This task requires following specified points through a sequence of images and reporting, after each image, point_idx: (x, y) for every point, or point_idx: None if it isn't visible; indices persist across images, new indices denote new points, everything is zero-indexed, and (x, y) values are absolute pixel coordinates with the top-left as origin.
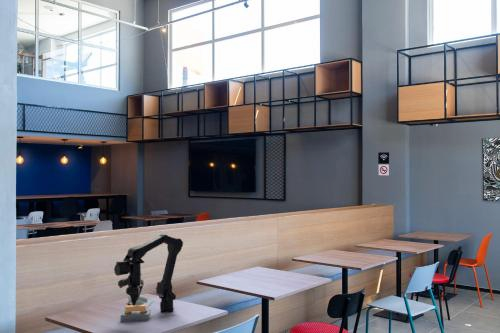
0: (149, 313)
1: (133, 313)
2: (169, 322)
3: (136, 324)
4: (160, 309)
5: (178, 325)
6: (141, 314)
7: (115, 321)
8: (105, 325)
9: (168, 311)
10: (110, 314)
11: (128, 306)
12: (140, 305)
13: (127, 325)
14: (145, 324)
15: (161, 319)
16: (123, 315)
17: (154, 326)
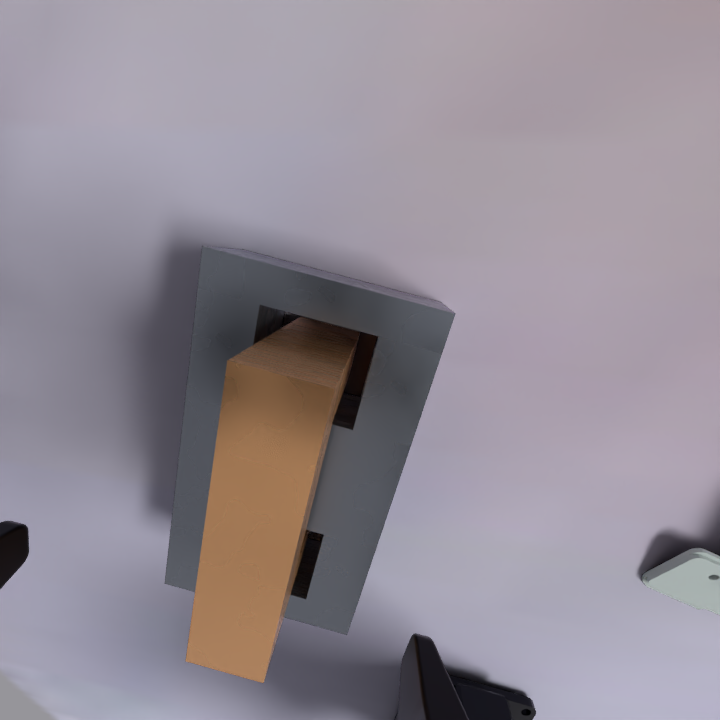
0: None
1: None
2: (101, 648)
3: (91, 408)
4: (458, 691)
5: (19, 677)
6: (173, 516)
7: (261, 179)
8: (114, 19)
9: (396, 717)
10: (666, 109)
11: (233, 422)
12: (238, 612)
13: (71, 316)
14: (78, 483)
15: None
16: (198, 292)
17: None
